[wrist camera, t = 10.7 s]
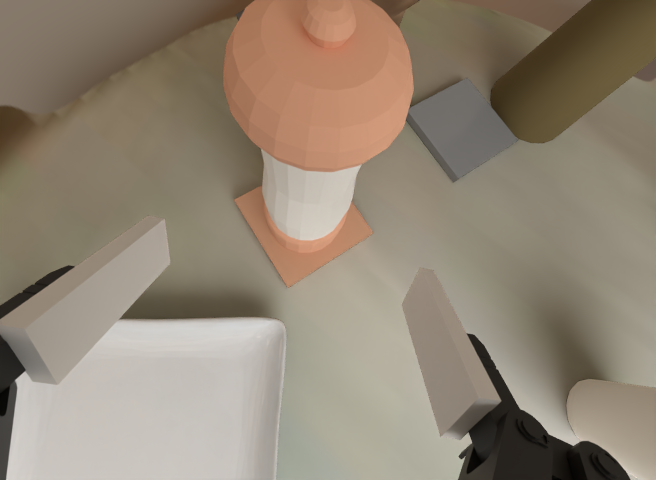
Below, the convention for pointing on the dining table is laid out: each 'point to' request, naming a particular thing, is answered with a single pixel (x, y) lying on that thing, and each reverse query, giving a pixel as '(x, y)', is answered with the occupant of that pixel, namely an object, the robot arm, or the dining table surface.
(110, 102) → the dining table surface
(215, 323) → the salad plate
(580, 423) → the foam cup
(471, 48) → the dining table surface
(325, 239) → the pepper shaker
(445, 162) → the dish slate
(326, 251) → the orange square coaster
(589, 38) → the pepper shaker
